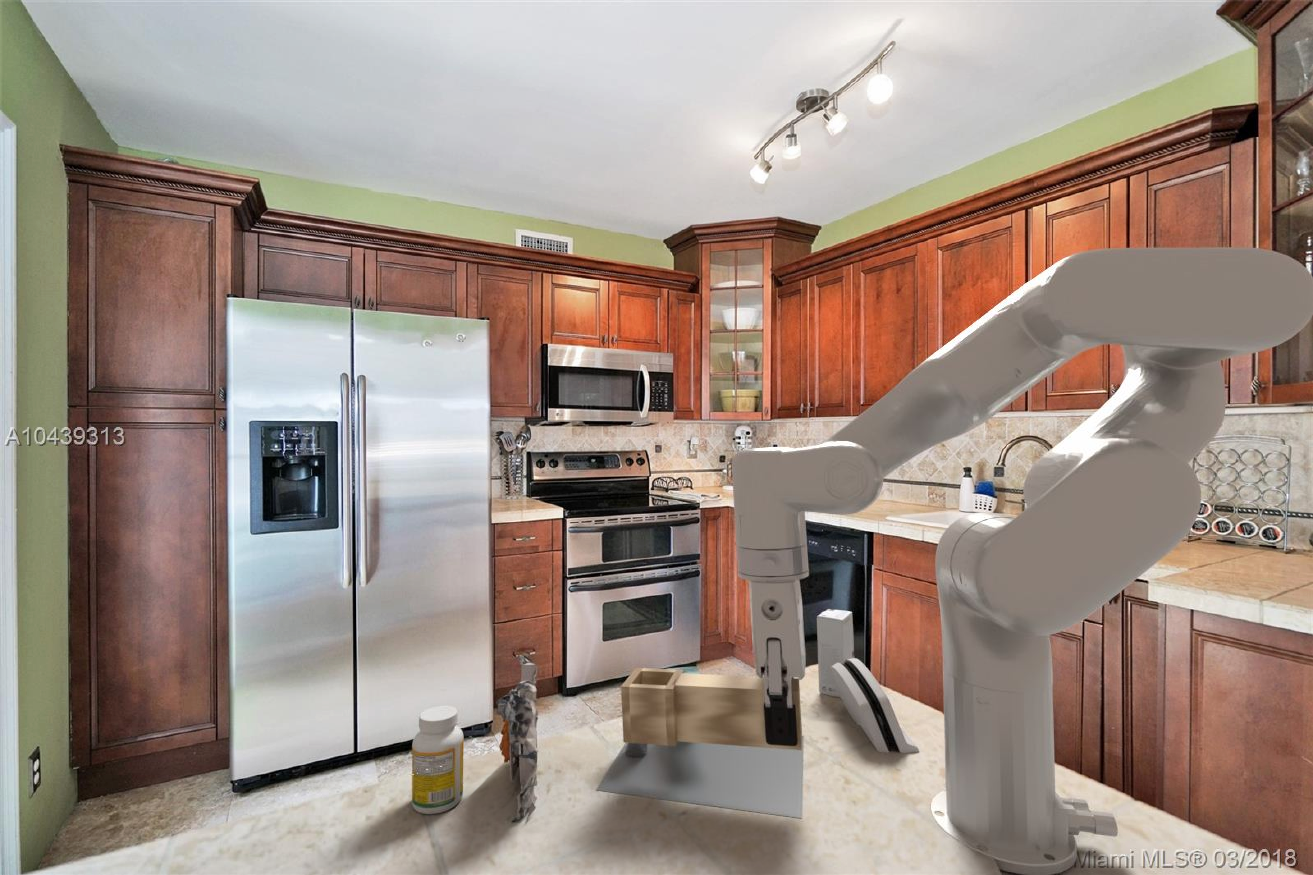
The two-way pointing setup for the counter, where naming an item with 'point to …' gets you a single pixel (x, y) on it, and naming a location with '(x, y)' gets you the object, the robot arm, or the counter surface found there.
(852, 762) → the counter surface
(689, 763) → the plate
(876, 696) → the white slotted curved device
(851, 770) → the counter surface
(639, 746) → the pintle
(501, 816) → the counter surface
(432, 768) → the supplement bottle
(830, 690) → the skincare box
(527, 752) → the meal
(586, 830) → the counter surface
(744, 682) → the wooden block with hole
